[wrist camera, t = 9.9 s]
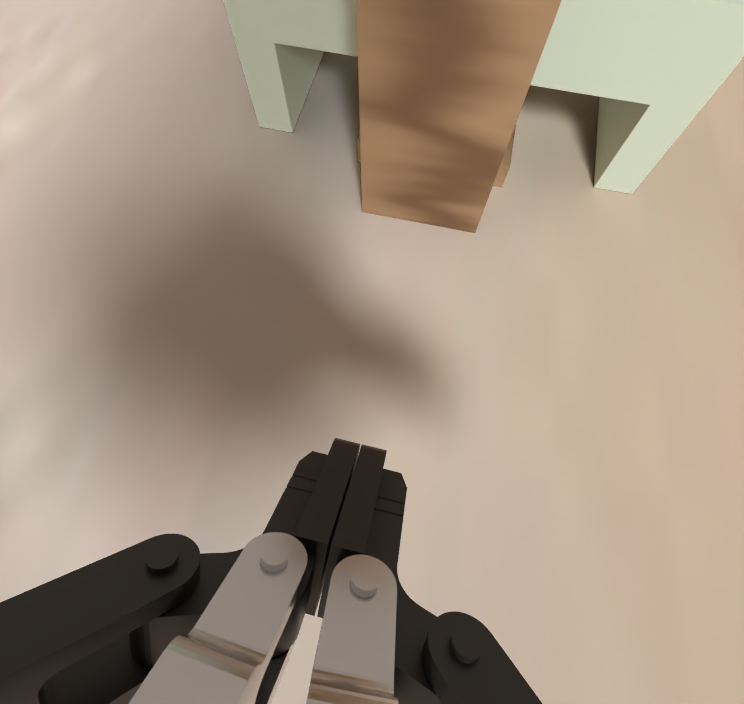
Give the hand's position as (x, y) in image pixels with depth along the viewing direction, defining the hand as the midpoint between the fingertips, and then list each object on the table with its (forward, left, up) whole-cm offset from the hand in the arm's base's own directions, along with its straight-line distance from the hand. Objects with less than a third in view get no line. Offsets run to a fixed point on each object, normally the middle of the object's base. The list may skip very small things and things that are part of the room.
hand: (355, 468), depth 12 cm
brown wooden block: (0, -21, -6) cm, 22 cm away
